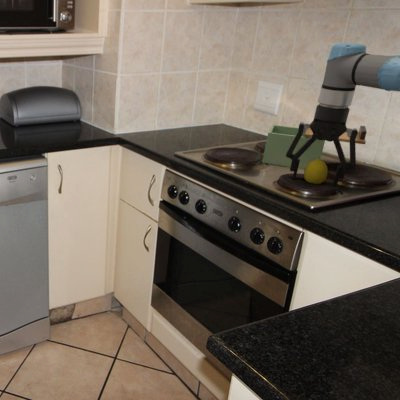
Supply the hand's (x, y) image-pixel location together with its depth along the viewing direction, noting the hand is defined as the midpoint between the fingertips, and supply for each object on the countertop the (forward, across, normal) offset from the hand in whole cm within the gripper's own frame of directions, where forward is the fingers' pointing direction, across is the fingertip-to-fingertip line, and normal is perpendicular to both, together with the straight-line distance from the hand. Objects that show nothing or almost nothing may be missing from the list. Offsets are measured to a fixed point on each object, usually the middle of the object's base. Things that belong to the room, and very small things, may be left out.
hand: (313, 185), depth 133 cm
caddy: (0, +7, -22) cm, 23 cm away
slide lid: (-10, -3, -22) cm, 24 cm away
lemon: (0, 0, 0) cm, 0 cm away
